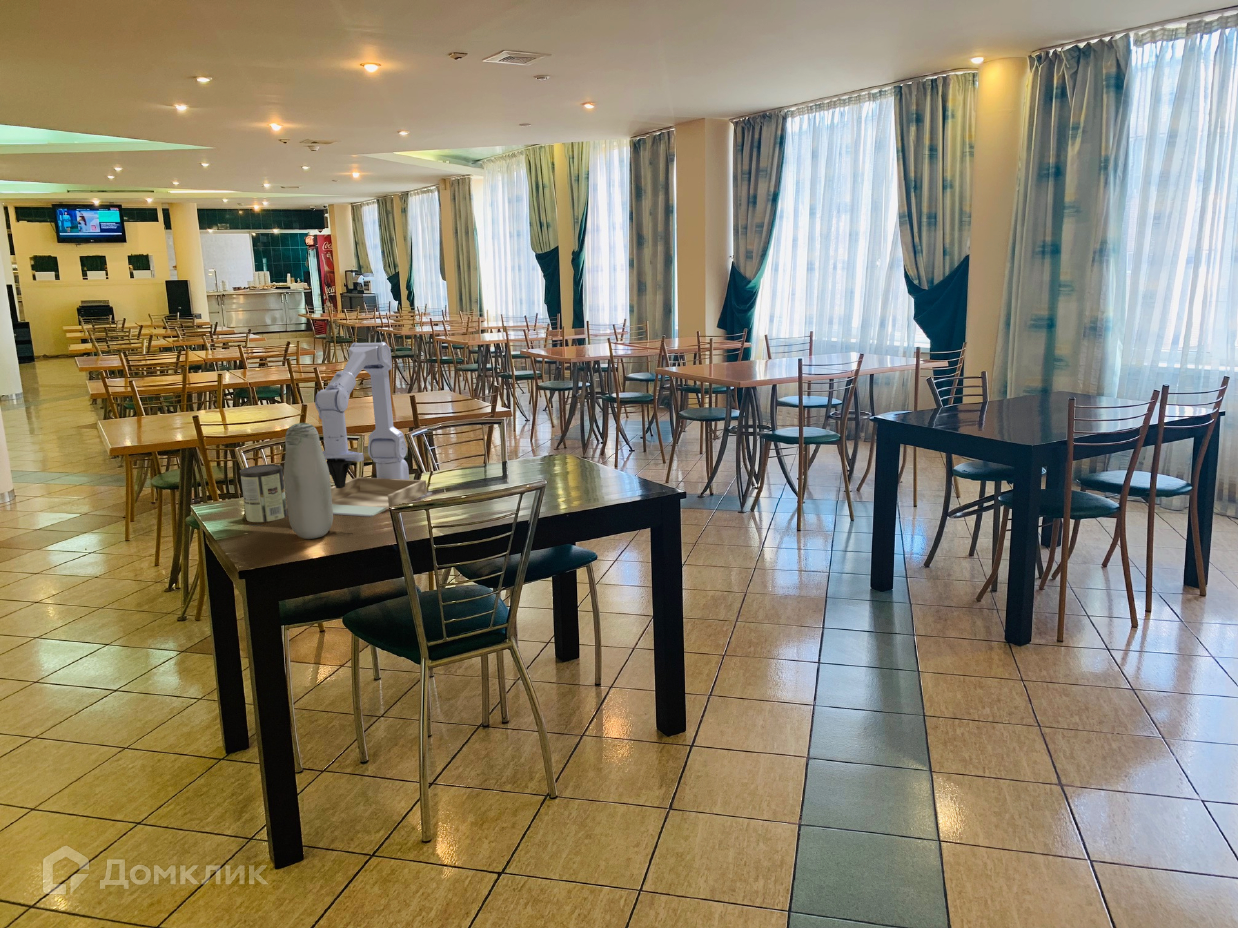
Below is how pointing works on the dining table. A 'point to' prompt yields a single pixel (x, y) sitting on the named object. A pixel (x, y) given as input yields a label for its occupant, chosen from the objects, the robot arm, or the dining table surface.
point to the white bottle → (307, 483)
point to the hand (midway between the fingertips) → (340, 487)
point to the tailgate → (356, 510)
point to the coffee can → (263, 493)
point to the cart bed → (378, 492)
